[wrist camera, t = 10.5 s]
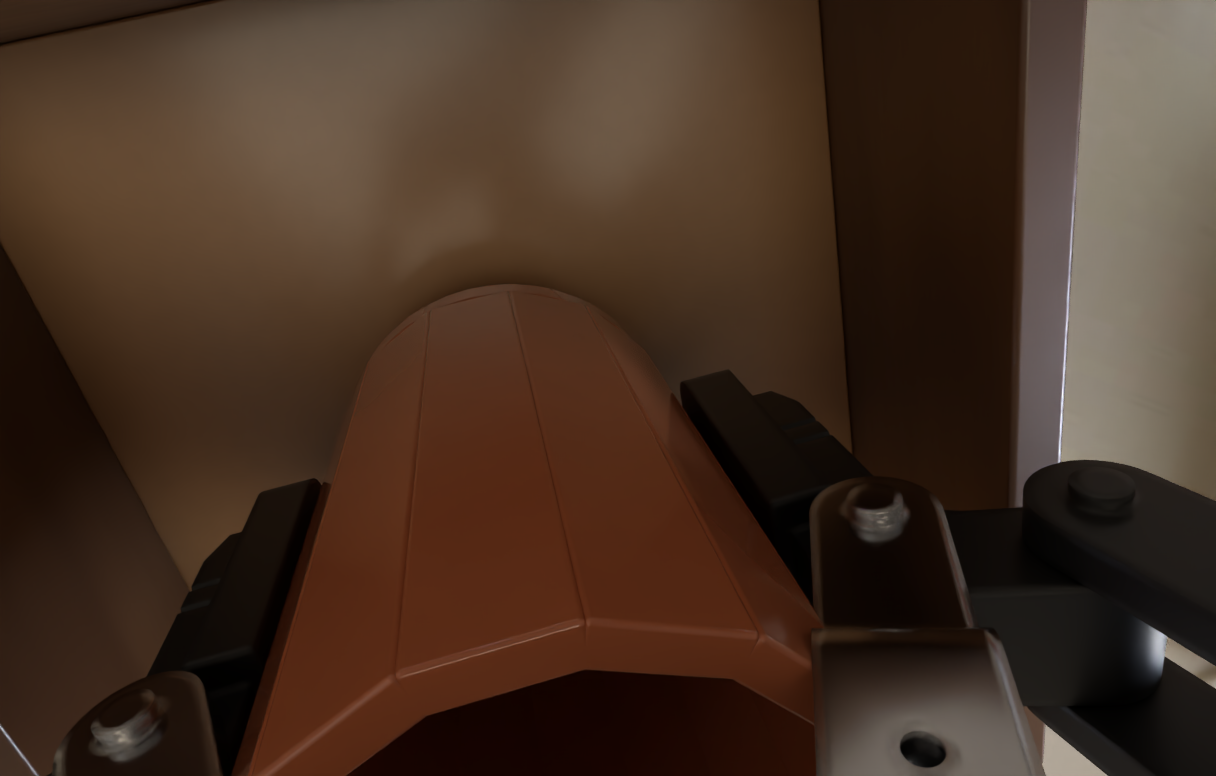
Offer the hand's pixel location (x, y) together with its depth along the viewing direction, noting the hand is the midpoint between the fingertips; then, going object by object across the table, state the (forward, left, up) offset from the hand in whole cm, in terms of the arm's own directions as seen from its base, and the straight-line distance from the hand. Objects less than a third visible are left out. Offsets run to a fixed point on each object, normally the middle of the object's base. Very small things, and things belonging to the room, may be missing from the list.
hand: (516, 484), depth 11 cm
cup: (0, 0, -2) cm, 2 cm away
